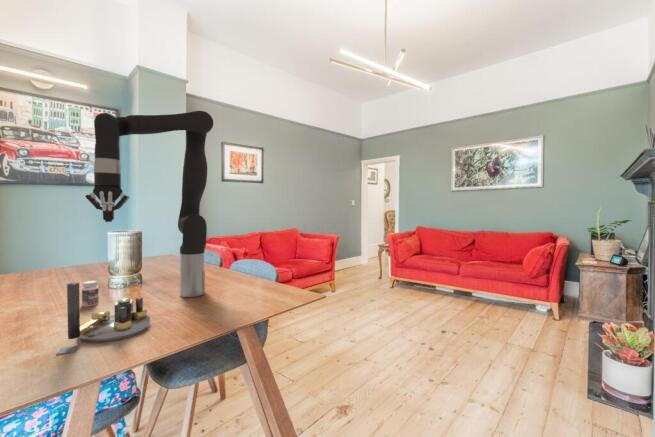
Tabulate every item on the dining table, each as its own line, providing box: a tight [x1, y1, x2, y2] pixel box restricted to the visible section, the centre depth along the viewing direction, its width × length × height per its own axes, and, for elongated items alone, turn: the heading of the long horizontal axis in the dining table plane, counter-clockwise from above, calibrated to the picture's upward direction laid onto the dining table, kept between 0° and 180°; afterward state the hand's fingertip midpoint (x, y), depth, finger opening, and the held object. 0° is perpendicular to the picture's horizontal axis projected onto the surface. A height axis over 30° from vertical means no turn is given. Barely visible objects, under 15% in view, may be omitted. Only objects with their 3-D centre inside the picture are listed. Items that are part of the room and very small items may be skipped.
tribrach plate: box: [78, 297, 151, 344], centre depth 88 cm, size 17×17×9 cm
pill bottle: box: [81, 280, 100, 308], centre depth 109 cm, size 5×5×8 cm
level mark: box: [55, 344, 80, 356], centre depth 75 cm, size 4×4×1 cm
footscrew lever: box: [66, 282, 111, 340], centre depth 84 cm, size 15×4×14 cm, turn 10°
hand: (108, 221), depth 106 cm, fingers closed
